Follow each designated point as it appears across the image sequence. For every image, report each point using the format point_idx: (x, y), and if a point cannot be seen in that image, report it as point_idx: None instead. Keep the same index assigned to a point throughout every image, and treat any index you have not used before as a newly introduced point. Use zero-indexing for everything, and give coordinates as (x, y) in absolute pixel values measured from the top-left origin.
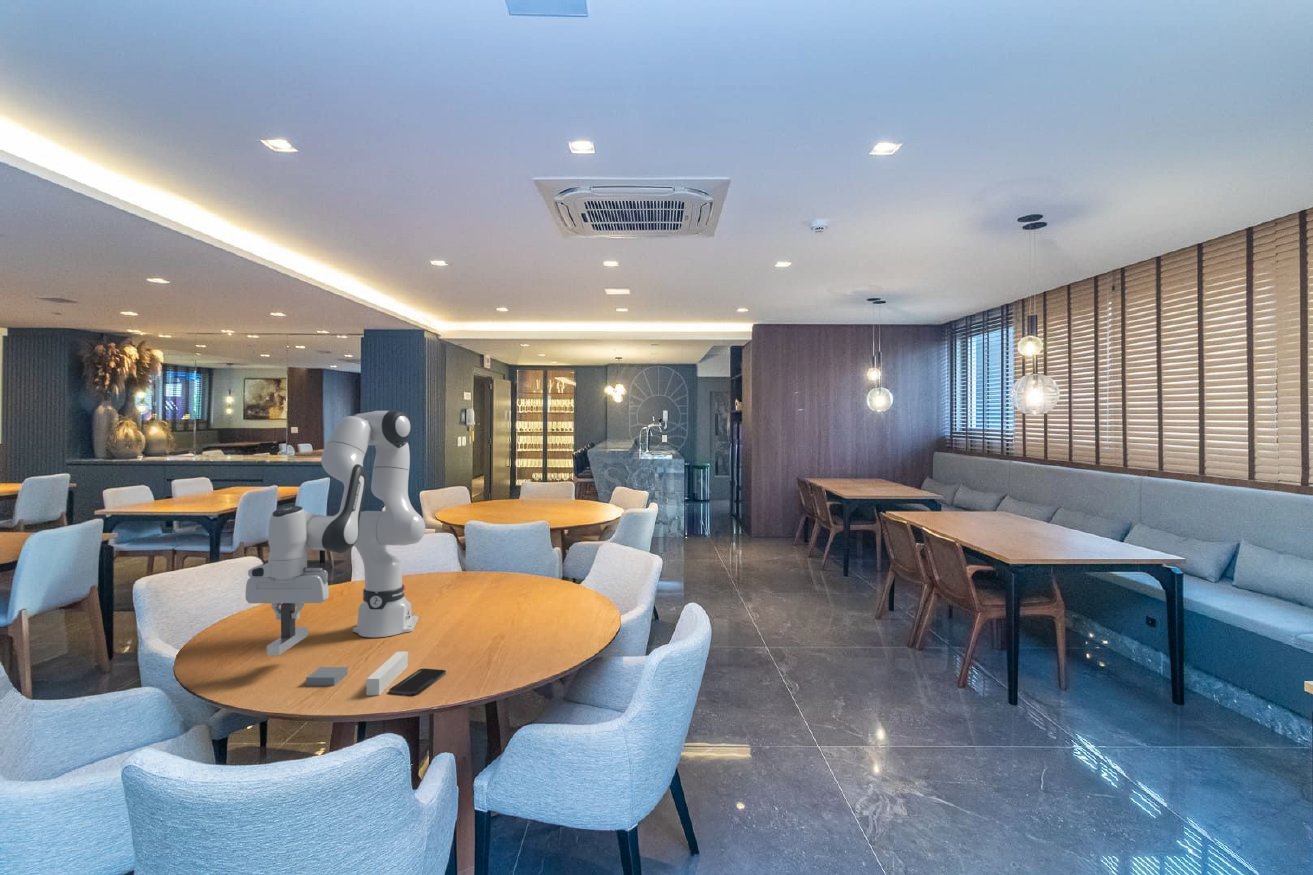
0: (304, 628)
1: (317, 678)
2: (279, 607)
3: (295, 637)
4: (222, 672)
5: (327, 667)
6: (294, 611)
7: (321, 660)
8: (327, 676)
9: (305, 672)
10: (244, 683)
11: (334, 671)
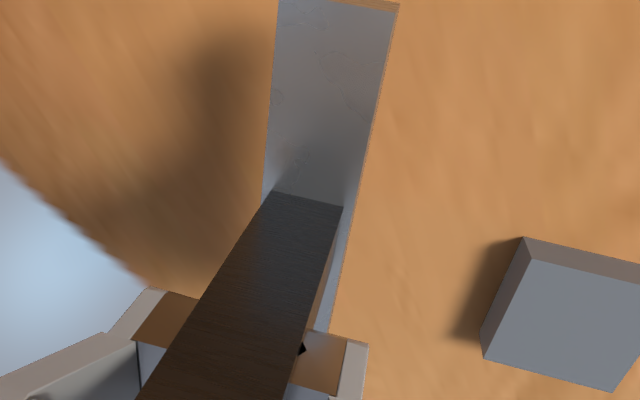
0: (373, 55)
1: (532, 368)
2: (74, 384)
3: (353, 210)
4: (60, 97)
5: (569, 272)
6: (292, 387)
7: (495, 3)
8: (578, 375)
9: (441, 186)
10: (226, 247)
11: (610, 332)
